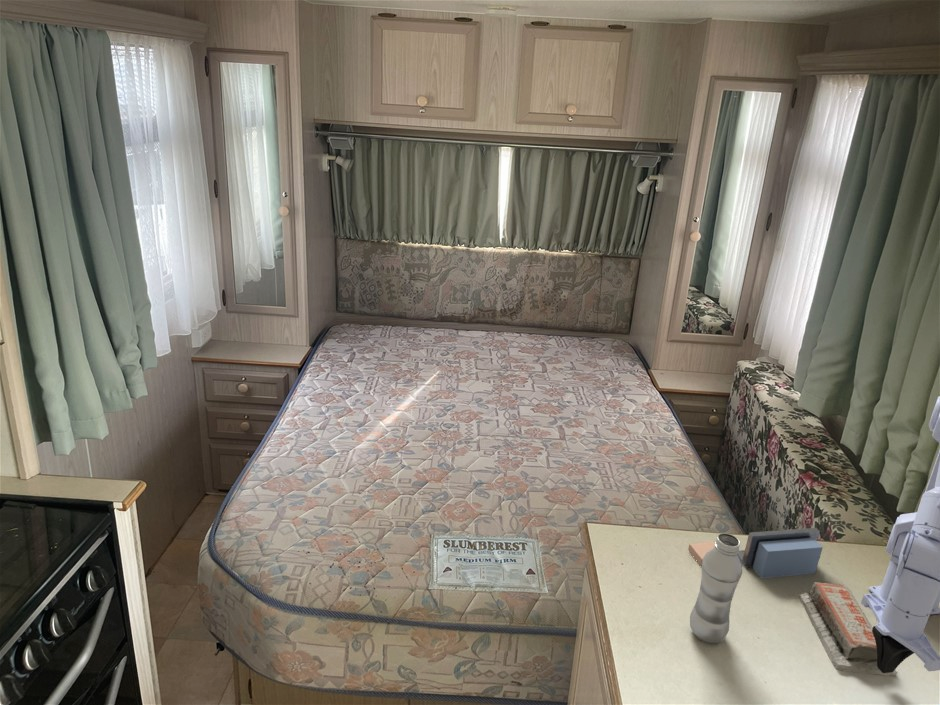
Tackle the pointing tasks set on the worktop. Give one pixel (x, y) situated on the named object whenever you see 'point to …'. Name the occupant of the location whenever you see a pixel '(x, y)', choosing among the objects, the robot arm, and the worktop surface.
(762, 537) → the bookend
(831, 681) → the worktop surface
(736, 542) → the plastic bottle
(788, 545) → the grayish blue rectangular block
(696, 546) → the lying book
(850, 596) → the packaged product
